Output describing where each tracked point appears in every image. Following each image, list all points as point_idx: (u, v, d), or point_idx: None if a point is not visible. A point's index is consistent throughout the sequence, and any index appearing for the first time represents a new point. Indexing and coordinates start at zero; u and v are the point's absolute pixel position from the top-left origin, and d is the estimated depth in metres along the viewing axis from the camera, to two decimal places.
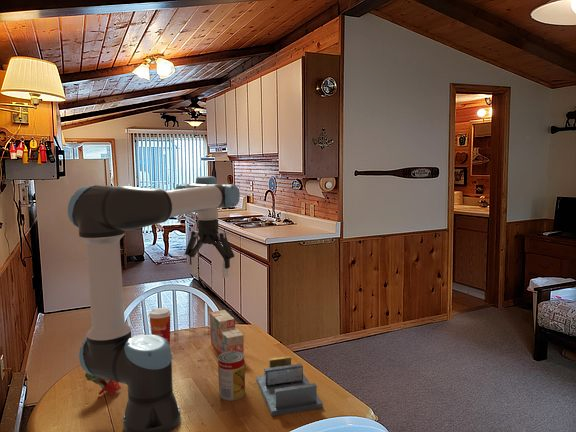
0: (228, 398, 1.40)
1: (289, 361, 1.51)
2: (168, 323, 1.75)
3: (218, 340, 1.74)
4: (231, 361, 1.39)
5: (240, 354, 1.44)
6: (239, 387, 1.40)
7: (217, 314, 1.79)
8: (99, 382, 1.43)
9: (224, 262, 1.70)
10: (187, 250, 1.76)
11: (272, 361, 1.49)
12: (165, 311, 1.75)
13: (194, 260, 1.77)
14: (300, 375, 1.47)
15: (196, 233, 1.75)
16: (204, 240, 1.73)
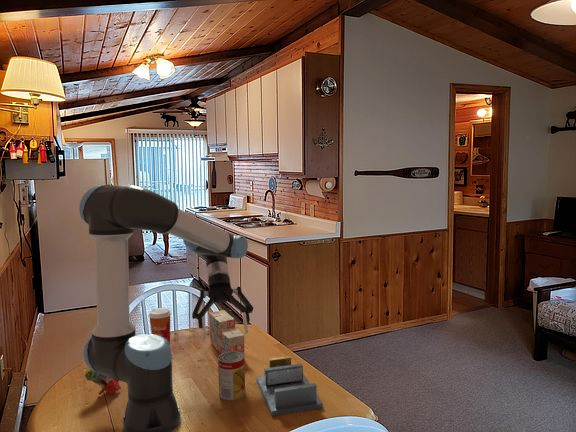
0: (228, 398, 1.40)
1: (289, 361, 1.51)
2: (168, 323, 1.75)
3: (218, 340, 1.74)
4: (231, 361, 1.39)
5: (240, 354, 1.44)
6: (239, 387, 1.40)
7: (217, 314, 1.79)
8: (99, 382, 1.43)
9: (245, 314, 1.56)
10: (195, 310, 1.54)
11: (272, 361, 1.49)
12: (165, 311, 1.75)
13: None
14: (300, 375, 1.47)
15: (205, 293, 1.59)
16: (218, 296, 1.59)
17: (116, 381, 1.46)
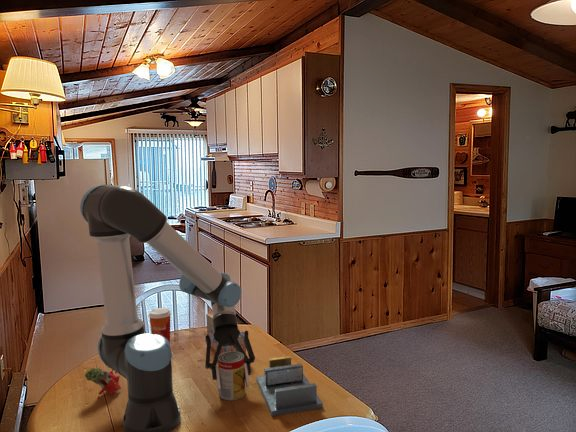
0: (228, 398, 1.40)
1: (289, 361, 1.51)
2: (168, 323, 1.75)
3: None
4: (231, 361, 1.39)
5: (240, 354, 1.44)
6: (239, 387, 1.40)
7: None
8: (99, 382, 1.43)
9: (246, 366, 1.44)
10: (208, 359, 1.43)
11: (272, 361, 1.49)
12: (165, 311, 1.75)
13: (218, 372, 1.42)
14: (300, 375, 1.47)
15: (211, 337, 1.48)
16: (224, 339, 1.47)
17: (116, 381, 1.46)
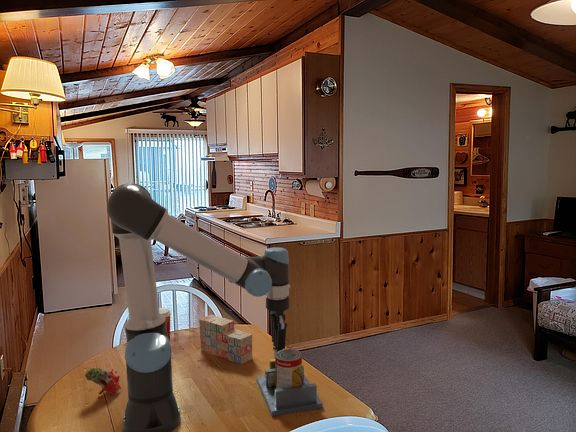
0: None
1: None
2: (168, 323, 1.75)
3: (219, 345, 1.69)
4: (290, 359, 1.36)
5: (297, 352, 1.41)
6: None
7: (211, 319, 1.74)
8: (99, 382, 1.43)
9: (276, 351, 1.51)
10: (272, 336, 1.54)
11: (273, 362, 1.49)
12: (165, 311, 1.75)
13: (277, 351, 1.52)
14: None
15: None
16: None
17: (116, 381, 1.46)
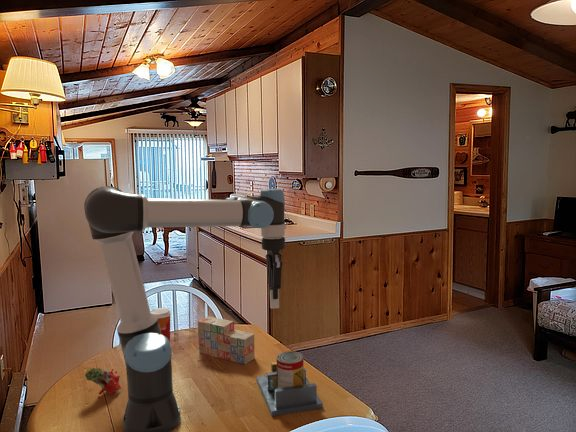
0: None
1: None
2: (168, 323, 1.75)
3: (220, 346, 1.68)
4: (291, 361, 1.35)
5: (299, 354, 1.39)
6: None
7: (210, 321, 1.72)
8: (99, 382, 1.43)
9: (271, 291, 1.53)
10: (268, 278, 1.56)
11: (274, 365, 1.46)
12: (165, 311, 1.75)
13: None
14: None
15: None
16: None
17: (116, 381, 1.46)
